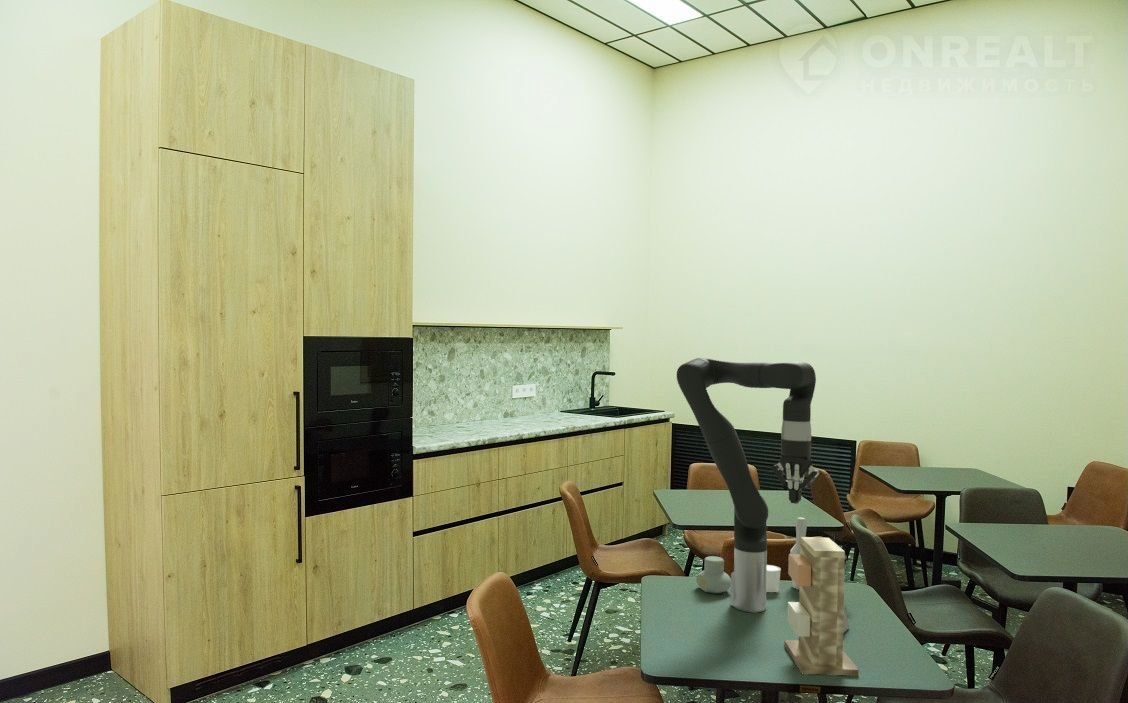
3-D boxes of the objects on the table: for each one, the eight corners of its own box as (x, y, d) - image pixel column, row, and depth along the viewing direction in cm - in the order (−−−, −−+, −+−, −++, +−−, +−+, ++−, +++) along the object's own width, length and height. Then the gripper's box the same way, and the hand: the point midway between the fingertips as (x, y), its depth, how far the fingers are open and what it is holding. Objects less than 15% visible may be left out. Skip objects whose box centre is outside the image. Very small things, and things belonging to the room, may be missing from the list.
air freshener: (693, 586, 231) (693, 554, 231) (716, 583, 234) (717, 552, 234) (710, 597, 221) (711, 565, 221) (734, 595, 224) (735, 562, 223)
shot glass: (768, 594, 224) (768, 572, 224) (753, 588, 230) (753, 565, 230) (785, 591, 227) (785, 569, 227) (769, 584, 234) (769, 563, 233)
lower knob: (820, 622, 183) (820, 602, 183) (831, 637, 174) (832, 616, 174) (787, 621, 183) (787, 601, 183) (797, 636, 174) (797, 615, 174)
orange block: (821, 575, 182) (821, 555, 182) (832, 587, 173) (833, 566, 173) (788, 574, 183) (788, 554, 183) (798, 586, 174) (798, 565, 174)
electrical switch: (838, 639, 191) (835, 603, 192) (818, 635, 195) (816, 600, 195) (850, 628, 199) (847, 594, 199) (830, 625, 202) (828, 591, 202)
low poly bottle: (786, 584, 234) (787, 515, 234) (805, 583, 235) (806, 515, 235) (794, 591, 228) (795, 520, 228) (813, 590, 229) (815, 520, 228)
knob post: (836, 647, 186) (838, 535, 186) (858, 676, 170) (860, 554, 170) (784, 645, 187) (786, 534, 186) (801, 674, 171) (804, 552, 170)
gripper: (766, 436, 195) (765, 501, 195) (814, 441, 186) (813, 509, 186) (779, 434, 201) (778, 497, 201) (826, 438, 192) (825, 504, 192)
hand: (794, 502), depth 194 cm, fingers closed
